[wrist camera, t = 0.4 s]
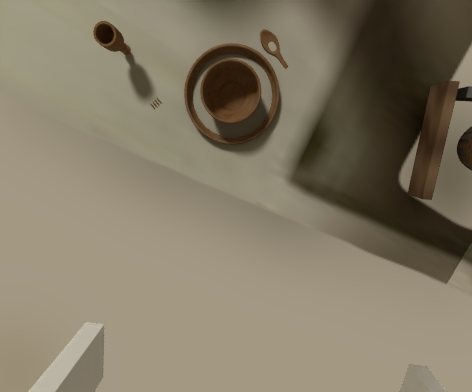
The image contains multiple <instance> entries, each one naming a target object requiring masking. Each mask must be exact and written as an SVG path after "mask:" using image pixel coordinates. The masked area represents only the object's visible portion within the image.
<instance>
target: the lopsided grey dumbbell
mask: <svg viewBox="0 0 472 392" xmlns="http://www.w3.org/2000/svg"><path fill="white" fill-rule="evenodd" d="M455 100H456V101H472V87H465V88H460V89H458V91H457V95H456V99H455Z"/></svg>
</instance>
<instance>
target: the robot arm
mask: <svg viewBox="0 0 472 392" xmlns="http://www.w3.org/2000/svg"><path fill="white" fill-rule="evenodd" d="M103 355H104V325H103V324H96V323H89V322H86V323H85V324H84V325H83V326H82V328H81V329H80V330H79V331H78V333H77V334H76V335H75V336H74V337H73V339H72V340H71V341H70V342H69V343H68V345H67V346H66V347H65V348H64V349H63V351H62V352H61V353H60V354H59V355H58V357H57V358H56V359H55V360H54V361H53V363H52V364H51V365H50V366H49V367H48V369H47V370H46V371H45V372H44V373H43V375H42V376H41V377H40V378H39V379H38V381H37V382H36V383H35V384H34V385H33V387H32V388H31V389H30V390H29V391H28V392H95V390H96V388H97V387H98V385H99V383H100V381H101V380H102V378H103ZM400 392H447V391H446V390H445V389H444V387H443V386H442V385H441V384H440V383H439V381H438V380H437V378H436V377H435V376H434V375H433V374H432V372H431V371H430V370H429V368H428V367H427V366H418V365H412V364H410V365H409V367H408V369H407V372H406V375H405V378H404V381H403V384H402V387H401V390H400Z"/></svg>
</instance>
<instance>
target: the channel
mask: <svg viewBox="0 0 472 392" xmlns="http://www.w3.org/2000/svg"><path fill="white" fill-rule="evenodd" d="M458 86H459V82H458V81H447V82H443V83H439V84H436V85H432V86H431V88H430V92H429V97H428V102H427V106H426V111H425V116H424V120H423V125H422V130H421V134H420V139H419V143H418V148H417V153H416V158H415V162H414V167H413V171H412V176H411V181H410V185H409V191H408V194H409V195H412V196H415V197H418V198H421V199H429V200H430V199H432V196H433V192H434V188H435V183H436V179H437V175H438V171H439V167H440V162H441V158H442V154H443V150H444V145H445V141H446V137H447V133H448V128H449V124H450V120H451V116H452V112H453V108H454V103H455V99H456V95H457V91H458Z"/></svg>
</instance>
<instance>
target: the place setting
mask: <svg viewBox="0 0 472 392" xmlns="http://www.w3.org/2000/svg"><path fill="white" fill-rule="evenodd" d="M94 37H95V40H96V41H97V42H98V43H99V44H100V45H101V46H103V47H104V48H106V49H108V50H110V51H114V52H116V51H119V50H120V51H121V52H123V54H125V55H128V54H130V52H131V49H130V47H129V46H128V45H126V44H125V43H124V39H123V36H122V34H121V33H120V32H119V31H118V30H117V29H116V28H115V27H114V26H113V25H112V24H110V23H109V22H106V21H101V22H99V23H97V24H96V26H95V27H94ZM271 41H272V42H274V43H275V44H276V46H277V49H276V51H274V52H272V51H271V50H270V49H269V47H268V43H269V42H271ZM261 42H262V45H263V47H264V49H265V50H266V51H267V52H268V53H270V54H272V55H274V56H276V57H277V58H278V59H279V61H280V62H281V64H282V65H283V67H284V68H285V69H286V68H287V67H288V65H287V64H286V62H285V61H284V59H283V58H282V56H281V54H280V49H279V42H278V40H277V38H276V36H275V35H274V34H273V33H271V32H270V31H268V30H262V31H261ZM227 53H238V54H242V55H245V56H248V57H250V58H252V59H253V60H255V61H256V62H257V63H258V64H259V65H261V67H262V68H263V69H264V70H265V72H266V74H267V75H268V78H269V80H270V83H271V87H272V103H271V108H270V111H269V113H268V115H267V117H266V119H265V120H264V122H263V123H262V124H261V125H260V126H259V127H258V128H257V129H256V130H255V131H253V132H252V133H250V134H248V135H245V136H242V137H236V138H228V137H223V136H220V135H217V134H215V133H213V132H212V131H210V130H209V129H208V128H206V127H205V126H204V125H203V123H202V122H201V121H200V119H199V118H198V116H197V114H196V111H195V109H194V105H193V86H194V82H195V79H196V77H197V75H198V73H199V71H200V70H201V69H202V67H203V66H204V65H205V64H206V63H207V62H209V61H210V60H211V59H213V58H215V57H217V56H219V55H223V54H227ZM184 97H185V104H186V108H187V111H188V114H189V116H190V118H191V120H192V122H193V123H194V125H195V126H196V127H197V128H198V129H199V131H201V132H202V133H203V134H204V135H205V136H207V137H208V138H210V139H212V140H214V141H217V142H220V143H225V144H239V143H244V142H247V141H250V140H252V139H254V138H256V137H257V136H258V135H260V134H261V133H262V132H263V131H264V130H265V129H266V128H267V127H268V126H269V124H270V123H271V121H272V120H273V118H274V116H275V114H276V111H277V108H278V103H279V85H278V80H277V77H276V74H275V72H274V70H273V68H272V66H271V65H270V63H269V62H268V61H267V59H266V58H265V57H264V56H263V55H261V54H260V53H259V52H257V51H256V50H254V49H252V48H250V47H248V46H245V45H241V44H232V43H231V44H223V45H218V46H216V47H213V48H211V49H210V50H208V51H206V52H205V53H204V54H202V55H201V56H200V57H199V58H198V59H197V60H196V62H195V63H194V64H193V66H192V68H191V69H190V71H189V74H188V76H187V79H186V83H185V94H184ZM260 97H261V85H260V81H259V78H258V76H257V74H256V72H255V71H254V70H253V68H252V67H250V66H249V65H248V64H247V63H245V62H243V61H241V60H237V59H224V60H221V61H218V62H217V63H215V64H214V65H212V66H211V67H210V68H209V69H208V70H207V72H206V73H205V75H204V77H203V80H202V83H201V99H202V102H203V105H204V107H205V109H206V110H207V111H208V113H209V114H210V115H211V116H212V117H214V118H215V119H217V120H218V121H220V122H223V123H228V124H235V123H239V122H242V121H244V120H246V119H247V118H249V117H250V116H251V115H252V114H253V113H254V111H255V110H256V108H257V106H258V104H259V101H260ZM157 100H158V101H159V102H160V100H159V99H158V98H157ZM155 102H156V103H157V104H158V102H157V101H156V100H155ZM160 103H161V102H160ZM150 104H151V103H150ZM153 104H154V105H155V106H156V104H155V103H154V102H153ZM161 104H162V103H161ZM158 105H159V104H158ZM151 106H152V107H153V108H154V106H153V105H152V104H151ZM159 106H160V105H159ZM156 107H157V106H156ZM154 109H155V108H154Z"/></svg>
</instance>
